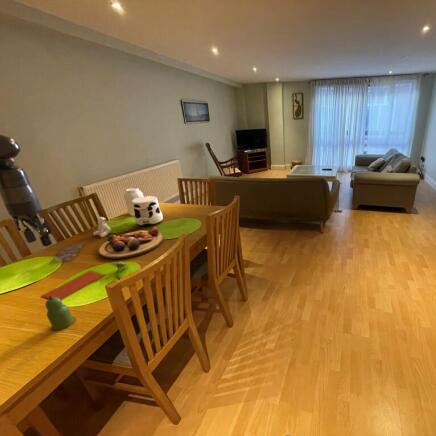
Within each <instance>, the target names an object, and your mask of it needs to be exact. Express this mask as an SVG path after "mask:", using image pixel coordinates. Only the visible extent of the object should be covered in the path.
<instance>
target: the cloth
mask: <svg viewBox="0 0 436 436" xmlns="http://www.w3.org/2000/svg"><path fill="white" fill-rule="evenodd" d="M104 276H105V275H104V274H101V273H98V272H94V271H92V270H88V271H87V272H85V273H83V274H81V275H79V276H78V277H76V278H73V279H72V280H70V281H68V282H66V283H64V284H62V285H60V286H58V287H56V288H54V289H53V290H50V291H48V292H46V293H45V294H43V295H42V297H43V298H46V299H47V300H49V299H50V298H49V296H52V298H54V297H57V298H59V299H61V300H63V299H65V298H67V297H69V296H70V295H72V294H75V293H76V292H78V291H80V290H81V289H83V288H84V287H87V286H88V285H90V284H92V283H94V282H96V281H97V280H99V279H101V278H102V277H104Z"/></svg>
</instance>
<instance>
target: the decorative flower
mask: <svg viewBox="0 0 436 436" xmlns="http://www.w3.org/2000/svg"><path fill="white" fill-rule="evenodd" d="M110 265H111V266H112V267H115V268H117V270H116V276H117V278H119V280H121V278H122V277H121V276H120V275H119V270H120V269H127V268H130V266H129V265H128V264H126V263H124V262H123V261H119V262H111V263H110Z"/></svg>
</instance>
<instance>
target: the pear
mask: <svg viewBox="0 0 436 436" xmlns="http://www.w3.org/2000/svg"><path fill="white" fill-rule="evenodd" d="M49 298H50V299H47V300H46V301H45V304H44V306H45V308H46V310H47V312H46V318H47V320H48V321H49V323H50V325H51V327H52V329H53V330H54V331H60V330H63V329H65V328H67V327H69V326H71V325H72V324H73V323H74V318H73V315H72V313H71V311H70V309H69V307H68V305H66V304H63V301H62V299H59V298H57V297H54V298H52V296H49Z"/></svg>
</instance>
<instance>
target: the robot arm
mask: <svg viewBox="0 0 436 436" xmlns="http://www.w3.org/2000/svg"><path fill="white" fill-rule="evenodd" d="M20 153H21V147H20V145H19V143H18V142H17V141H16V140H15V139H13V138H11V137H10V136H7V135H4V134H0V198H1V200H2V202H3V205H4V207H5V209H6V211H7V213H8V215H9V216H10V217H11V218H12V221H13V223H14V225H15V228H16V230H17V231H18V232H20V233H21V234H23V235H24V238H25V240H26V242H27V243H34V242H36V241H37V238H36V236H35V233H36V235H37V236H38V237H39V240H40V242H41V245H42V246H43V247H44V248H45V247H49V246H52V245H53V241H52V239H51V237H50V235H51V234H53V230H52V228H51V226H50V224H49V222H48V220H47V217H45V216H42V217H40V216H39V214H38V213H39V212H41V211H42V206H41V203H40V201H39V199H38V196H37V194H36V191H35V190H34V188H33V187H32V185H31V182H30V180H29V177H28V175H27V172H26V171H25V169H24V168H23V167H21V166H20V165H18V164H17V162H16V161H15V159H14V158H16V157H18V156H19V154H20Z"/></svg>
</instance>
